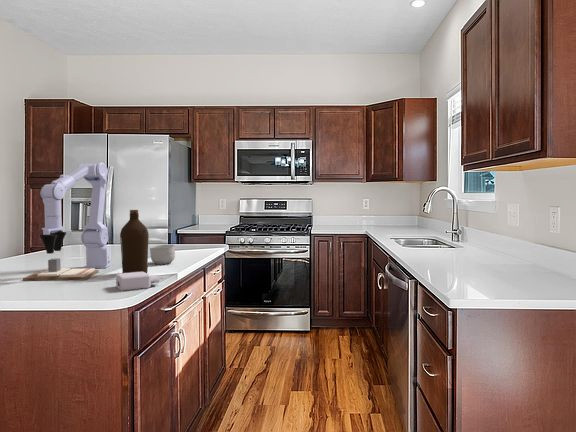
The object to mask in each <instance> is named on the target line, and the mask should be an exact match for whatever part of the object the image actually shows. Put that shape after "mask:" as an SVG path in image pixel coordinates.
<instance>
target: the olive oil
mask: <svg viewBox="0 0 576 432" xmlns="http://www.w3.org/2000/svg"><path fill="white" fill-rule="evenodd" d="M139 217H140V216H139V209H130V210H129V220H128V221H127V222H126V224H124V225H123V226H122V228H121V229H120V234H119V241H120V251H121V252H120V253H121V269H122V270H121V271H122V272H121V273H132V272H145V273H147V274H148V268H149V267H148V263H149V261H148V260H149V258H148V257H149V230H148V228H147V227H146V225H145V224H143V222H141V220H140V219H139Z"/></svg>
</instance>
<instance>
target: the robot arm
mask: <svg viewBox="0 0 576 432" xmlns="http://www.w3.org/2000/svg"><path fill="white" fill-rule="evenodd" d="M108 170H109V169H108V167H107V166H106V164H105V163H104V162H82V163H81V164H78V166H77V168H76V169H74V170H73V171H72V172H70V174H69V175H68V174H61V175H59V178H56V179H55V180H52V182H50V184H49V183H48V184H44V185H43V186H42V187H41V190H40V191H39V192H40V193H39V195H40V197H41V198H42V203H43V205H44V206H43V207H44V208H43V209H44V227H41V230H42V233H43V234H40V236H39V237H40V239H41V241H42V242H43V245H44V248H45V251H46V254H49V255H50V254H54V253H55V252H61V251H62V246H63V242H64V240H65V237H66V235H67V231H64V226H63V223H62V221H63V220H62V199H64V197H65V194H66V193H67V192H68V191H70V190H71V189H73V188H74V186H75V183H77V182H78V181H80V180H81V179H83V180H85V181H86V182H87V183H89V184H90V185H91V187H92V190H91V198H90V199H91V200H90V207H89V208H90V209H89V218H88V223H87V224H85V225H84V227H83V229H82V233H81V234H80V235H81V236H80V240H81V242H82V244H83V247H85V261H86V263H85V264H86V265H84V266H83V267H82V269H84V268H95V269H107V268H108V267H110V266H112V264H111V248H110V246H108V245H107V243H108V241H109V234H108V232H109V231H108V230H109V229H108V227H107V226H106V225H105V224H103V221H104V211H105V200H106V191H107V190H106V189H107V182H108V175H109V171H108Z"/></svg>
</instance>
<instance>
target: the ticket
mask: <svg viewBox="0 0 576 432" xmlns="http://www.w3.org/2000/svg"><path fill="white" fill-rule="evenodd" d="M95 270H96V268H70V270H67V271H65V272H63V273H62V274H59V277H84V276H86V275H88V274H89V273H91V272H93V271H95Z"/></svg>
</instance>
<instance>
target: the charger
mask: <svg viewBox="0 0 576 432" xmlns="http://www.w3.org/2000/svg"><path fill="white" fill-rule="evenodd" d="M164 279H165V277H163V276H159V275H157V274H154V275H153V274H152V275H150V274H149V273H148V272H147V273H145V272H132V273H122V272H120V273H116V274H115V287H116V288H117V289H118V290H119V291H121V292H123V290H125V291H133V290H132V289H135V290H142V289H141V288H144V289H149V288H151V287H152V284H157V283H159V282H160V280H164Z"/></svg>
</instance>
